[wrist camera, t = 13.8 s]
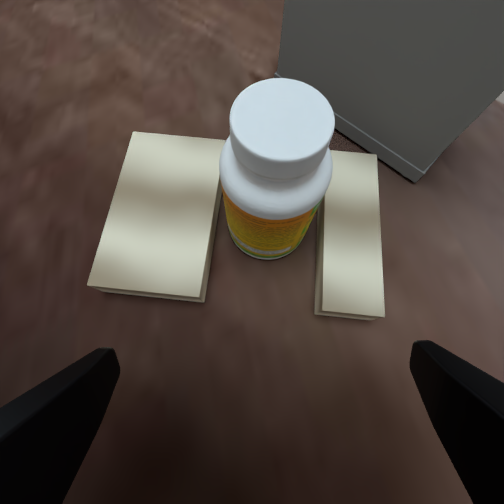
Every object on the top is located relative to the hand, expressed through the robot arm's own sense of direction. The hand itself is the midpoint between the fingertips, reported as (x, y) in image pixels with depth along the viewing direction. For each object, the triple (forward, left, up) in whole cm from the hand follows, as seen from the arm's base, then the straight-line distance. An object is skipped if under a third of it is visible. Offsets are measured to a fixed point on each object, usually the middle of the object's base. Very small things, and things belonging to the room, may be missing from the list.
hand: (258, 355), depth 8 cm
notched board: (+7, +5, -9) cm, 12 cm away
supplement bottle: (+8, +3, -9) cm, 12 cm away
